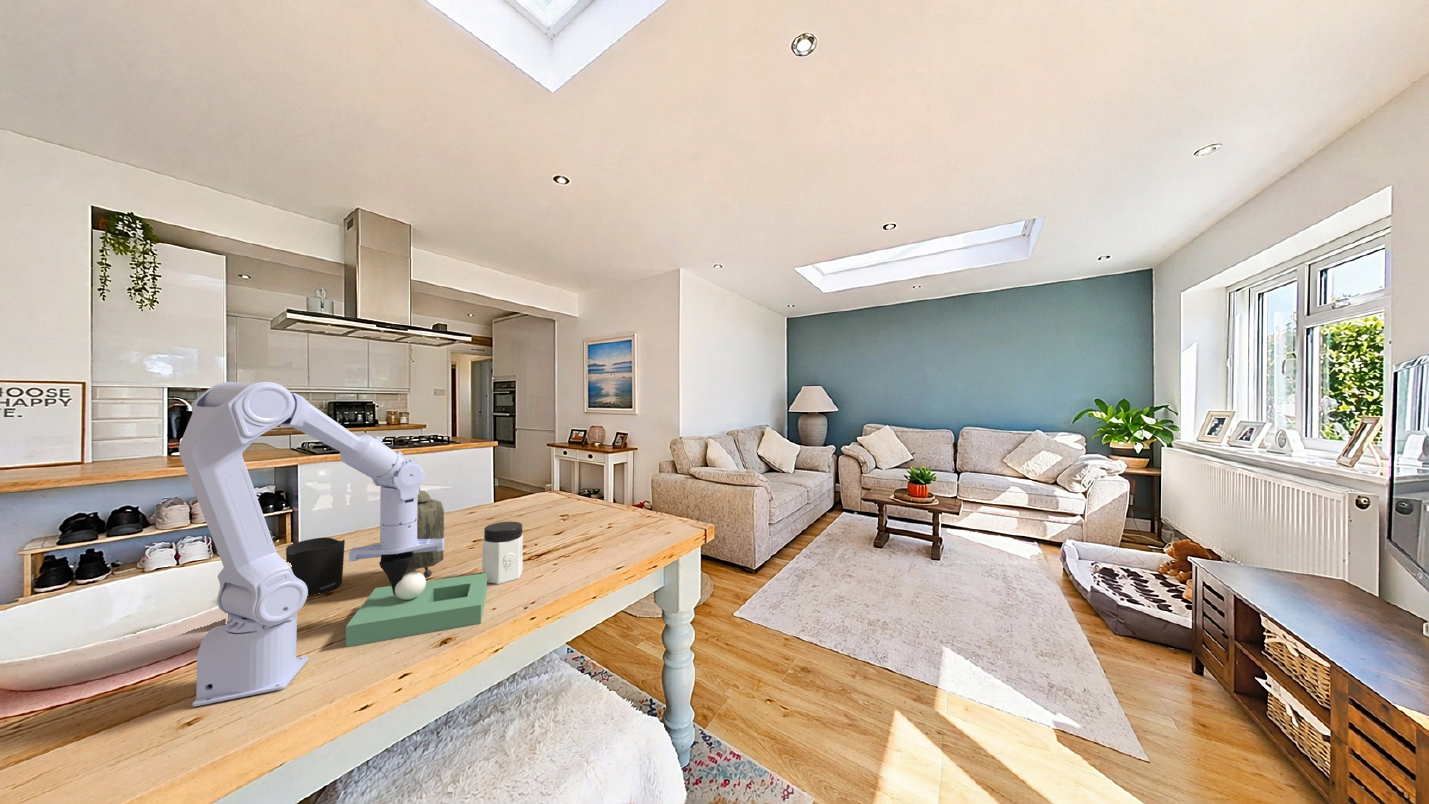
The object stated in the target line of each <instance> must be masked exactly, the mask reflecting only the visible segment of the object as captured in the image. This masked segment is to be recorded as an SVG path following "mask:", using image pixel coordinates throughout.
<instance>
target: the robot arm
mask: <svg viewBox="0 0 1429 804" xmlns="http://www.w3.org/2000/svg"><path fill="white" fill-rule="evenodd" d="M191 411H192V414H191V416H190V418H189V421H188V423H187V426H186V429H185V431H184V432H183V436H182V438H181V440H180V443H179V444H178V452H179V456H180V458H181V461H182V464H183V466H184V470H185V472H186V474H187V477H188V479H189V481H190V484H191V487H192V489H193V493H194V495H195V497H196V500H197V502H198V505H199V507H200V510H201V513H202V514H203V518H204V520H205V523H206V525H207V527H208V530H209V533H210V536H211V538H212V540H213V543H214V545H215V548H216V551H217V554H218V556H219V559H220V561H221V564H222V566H223V568H222V569H221V570H220V572H219V573H218V574H217V580H218V582H219V591H218V594H217V597H216V602H217V603H216V604H217V607H218V608H219V610H221V611H222V612H223V613H224V614H225V613H228V621H227V625H225V624H224V625H217V626H216V627H213V628H211V629H210V630H209V631H208V632H207V633H206V634H205V636H203V638H202V641H201V642H200V644H199V647H198V651H197V656H196V658H197V659H196V694H195V696H196V699H195V700H194V701H193V702H192V707H198V706H203V705H209V704H213V703H218V702H223V701H229V700H235V699H238V698H239V699H240V698H244V697H249V696H254V695H260V694H264V693H270V692H274V691H280V690H283V689H285V688H286V687H287V686H288V685H289V684H290V683H291V681H292V680H293V679H294V677H295V676H296V675H297V674H298V672H299V671H300V670H301V669H302V668H303V666H304V665H305V664H306V663H307V661H309V656H307V655H306V656H301V657H297V643H298V642H297V641H298V640H297V637H298V636H297V635H298V633H297V631H298V629H297V628H298V613H299V611H300V610H301V609H302V607H304V605H305V603H306V601H307V598H308V597H309V596H308V588H307V586H306V584H305V583H304V582H303V581H302V580H300V579H298V578H297V577H296V576H295V575H294V574H293V572H292V569H291V567H290V566H289V565H288V564H287V563H286V561H285V560H284V559H283V557H281V556H280V554H279V553H278V552H277V550H276V546H275V544H274V541H273V538H272V536H271V535H272V534H271V532H270V530H269V527H268V525H267V522H266V517H265V515H264V513H263V510H262V507H261V505H260V502H259V500H258V499H259V498H258V496H257V493H256V490H255V487H254V484H253V482H252V478H251V477H250V474H249V471H248V467H247V465H246V462H245V460H244V457H243V456H244V455H243V453H244V452H245V451H246V450H247V448H249V446H251V445H252V443H254V442H255V440H256V439H257V438H258V437H260V436H262V435H263V434H265V433H267V432H269V431H271V430H272V429H275V428H276V427H278V426H283V427H292V428H293V429H295V430H298V431H300V432H301V433H304V434H305V435H307V436H309V437H312V438H313V439H315V440H317V441H318V442H321V443H323V444H325V445H327V446H329V447H331V448H332V449H335V450H337V451H339V454H340V455H339V456H340V461H341V462H342V463H343V464H345V465H347V466H349V467H350V468H353V469H354V470H356V471H357V472H359V473H362V474H363V475H365V476H366V477H369V478H371V480H372V482H373V484H374V485H375V486H376V487H380V499H379V501H380V504H379V505H380V510H379V511H380V512H379V513H380V515H379V516H380V520H379V521H380V524H379V533H380V534H379V537H380V538H379V543H375V544H370V545H364V546H358V547H356V546H355V547H352V548H351V549H350V550H349V553H348V554H349V556H348V557H349V559H348V562H350V563H351V562H356V561H358V560H365V559H375V558H380V561H379V562H378V563H379V566H380V568H381V569H382V570H383V572H384V573H385V575H386V578H387V579H388V581H389V583H390V586H392V590H393V595H396V594H395V586H396V585H397V583H398V582H399V581H401V580H402V578H403V575H404V574H406V573H407V568H408V566H409V564H410V562H411V560H412V558H413V556H414V554H415V553H419V552H428V551H443V549H445V537H444V538H442V539H417V499H418V494H419V488H420V489H421V485H422V484H423V482H424V481H425V479H426V472H425V471H424V470H423V468H422V465H421V464H420V463H419V462H418V461H416V460H412V459H405V457H404V456H403V455H404V453H402V452H401V451H400V450H396V451H395V450H394V449H392V448H390V447H388V446H387V445H386V444H384V443H383V440H384V439H383V438H382V437H380V436H378V435H370V434H362V435H356V434H354V433H353V432H352V431H350V430H348V429H347V428H345V427H344V426H343V425H341V424H340V423H339V422H337V421H336V420H334V419H333V418H331V417H330V416H328V415H327V414H325V413H324V412H323V411H321V410H320V409H318V408H316V406H314V405H313V404H311V403H310V402H309V401H308V400H306V399H305V397H303V396H301V395H299V394H297V393H296V392H291V391H289V389H287V388H286V387H285V386H283V385H281V384H279V383H277V382H270V381H261V382H260V381H259V382H236V381H226V382H225V381H224V382H221V383H217V384H214V385H213V386H210V387H209V388H207V390H206V391H204V392H203V393H202V394H201V395H199V396H198V397H196V399H195V400H193V401H192V402H191ZM307 596H308V597H307Z"/></svg>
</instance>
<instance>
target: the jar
mask: <svg viewBox="0 0 1429 804" xmlns="http://www.w3.org/2000/svg"><path fill="white" fill-rule="evenodd" d="M483 531H484V532H483V535H484V536H483V539H484V540H482V560H481V561H482V567H481V568H482V571H481V572H482V573H481V574H484V573H487V584H496V585H501V584H504V583H508V582H511V581H515V580H518V579H520V577H521V576H522V575H521V574H522V573H523V567H524V566H523V562H524V561H523V559H524V558H523V556H524V554H523V551H524V549H523V548H524V547H523V546H524V534H523V524H522V523H521V522H517V521H501V522H495V523H492V524H488V525H486V526H485V527H484V529H483Z"/></svg>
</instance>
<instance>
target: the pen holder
mask: <svg viewBox="0 0 1429 804" xmlns="http://www.w3.org/2000/svg"><path fill="white" fill-rule="evenodd" d="M345 541H346V540H345V539H343V540H338V539H335V538H333V537H332V538H331V537H327V536H324V537H317V538H316V537H315V538H310V539H306V540H305V539H304V540H301V541H297V542H294V543H291V544H290V545H287V547H286V548H285V560H286V561H285V562H289V563H291V565H292V567H291V569H292V572H293V574H294V575H295V576H296V577H297V578H298V579H300V580H302V581H303V582H304V583H305V584H306V586H307V588H308V595H314V594H318V593H322V594H324V593H323V592H326V591H329V592H331V591H333V590H335V589H337V588H338V587H340V586H339V585H341V584H342V582H343V573H344V561H345V560H344V559H345V557H344V556H345ZM337 586H338V587H337ZM336 587H337V588H336ZM334 588H335V589H334ZM332 589H333V590H332ZM330 590H331V591H330ZM326 593H327V592H326ZM318 595H319V594H318ZM314 596H315V595H314Z"/></svg>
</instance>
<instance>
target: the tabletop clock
mask: <svg viewBox="0 0 1429 804" xmlns="http://www.w3.org/2000/svg"><path fill="white" fill-rule="evenodd" d="M442 538H444V539H445V510H444V506H443V503H442V501H439V500H436V499H434V498H431V496H430V494H429V493H428V492H427V491H424V490H421V487H420V488H419V494H418V499H417V539H442ZM444 549H445V548H444ZM444 549H443V551H428V552H419V553H415V554H414V556H413V558H412V560H411V562H410V564H409V566H408V568H407V571H406V573H408V572H415V571H416V570H417V569H418V570H419V569H424V572H423V576H424V577H425V578H430V576H432V574H433V571H432V570H431V569H429V567H434V566H435V565H437V564H439V563H440V562H442V561H443V560H444Z"/></svg>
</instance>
